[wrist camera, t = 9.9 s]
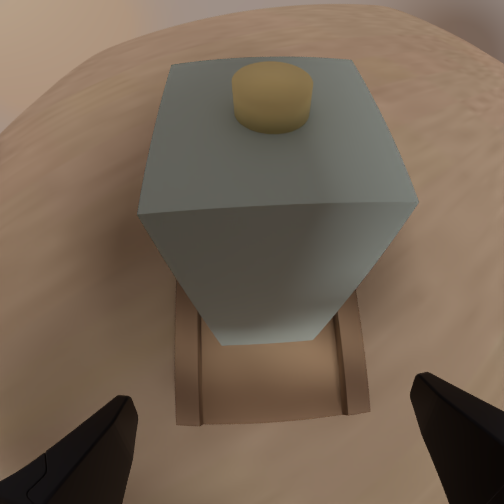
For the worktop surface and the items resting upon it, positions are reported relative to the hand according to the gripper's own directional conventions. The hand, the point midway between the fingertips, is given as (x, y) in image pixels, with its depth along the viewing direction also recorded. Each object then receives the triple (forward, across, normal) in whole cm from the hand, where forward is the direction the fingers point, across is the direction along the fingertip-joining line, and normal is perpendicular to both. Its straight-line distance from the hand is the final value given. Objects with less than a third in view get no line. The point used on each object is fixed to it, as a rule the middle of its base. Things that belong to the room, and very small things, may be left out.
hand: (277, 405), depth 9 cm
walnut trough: (+10, 0, +2) cm, 10 cm away
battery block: (+9, 0, +1) cm, 9 cm away
